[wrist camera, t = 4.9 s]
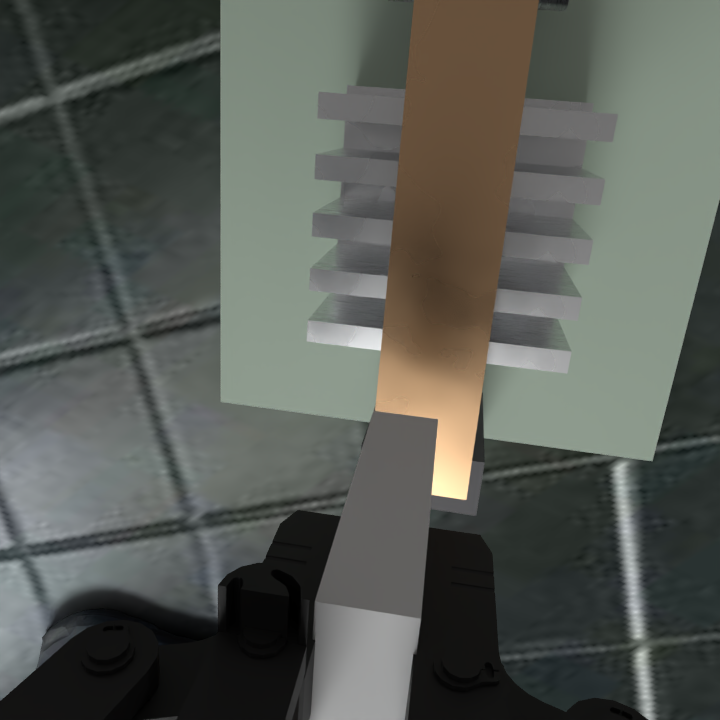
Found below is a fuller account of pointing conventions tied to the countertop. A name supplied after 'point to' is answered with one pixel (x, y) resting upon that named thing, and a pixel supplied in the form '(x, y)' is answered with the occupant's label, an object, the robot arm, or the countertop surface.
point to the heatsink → (522, 235)
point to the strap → (453, 215)
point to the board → (602, 223)
